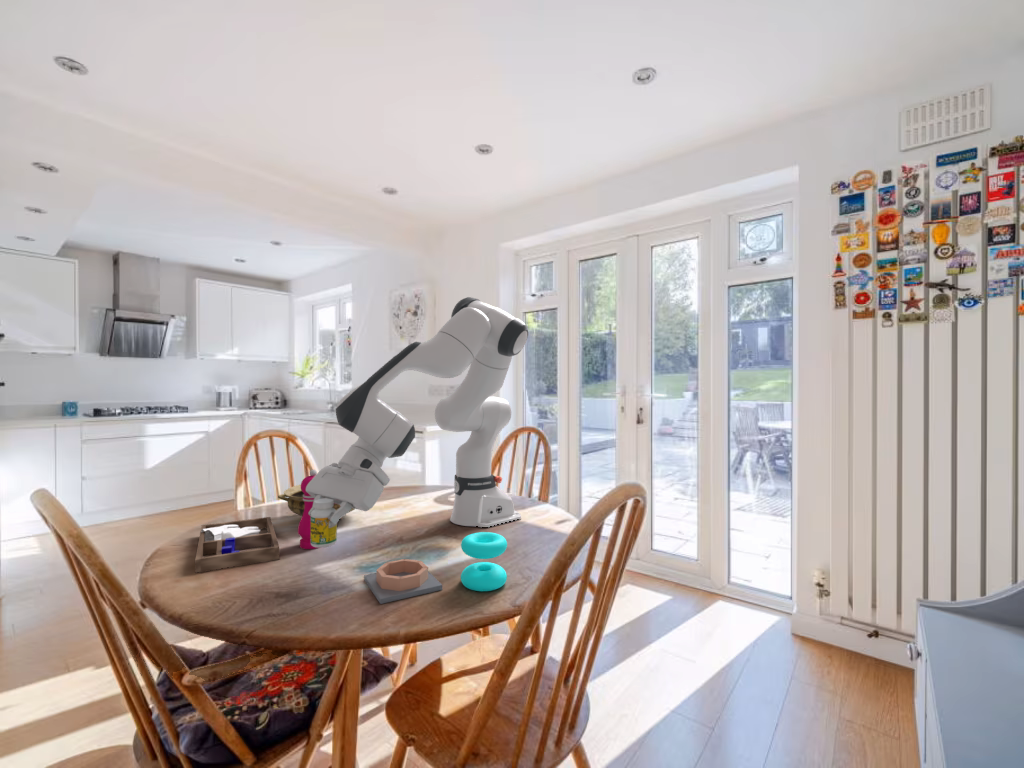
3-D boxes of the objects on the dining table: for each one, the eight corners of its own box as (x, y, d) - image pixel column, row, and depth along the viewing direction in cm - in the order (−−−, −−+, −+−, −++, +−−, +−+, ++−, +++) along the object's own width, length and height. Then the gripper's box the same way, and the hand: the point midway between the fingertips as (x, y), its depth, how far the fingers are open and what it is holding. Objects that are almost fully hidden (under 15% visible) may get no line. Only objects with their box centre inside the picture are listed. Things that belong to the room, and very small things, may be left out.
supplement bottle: (341, 541, 106) (342, 499, 106) (324, 549, 101) (324, 505, 101) (322, 538, 108) (323, 496, 108) (304, 545, 103) (305, 502, 103)
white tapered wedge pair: (230, 551, 121) (268, 539, 131) (230, 535, 121) (269, 524, 131) (200, 544, 126) (240, 533, 136) (200, 528, 126) (240, 518, 136)
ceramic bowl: (385, 510, 159) (385, 480, 159) (360, 533, 136) (360, 498, 135) (297, 508, 161) (297, 479, 160) (256, 531, 137) (256, 496, 137)
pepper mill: (316, 551, 121) (317, 472, 121) (291, 548, 123) (292, 471, 123) (332, 541, 128) (333, 467, 128) (308, 539, 130) (309, 466, 130)
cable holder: (238, 563, 113) (238, 546, 113) (221, 565, 112) (221, 548, 112) (241, 552, 121) (241, 536, 121) (225, 554, 119) (225, 538, 119)
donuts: (496, 548, 97) (452, 541, 100) (495, 597, 97) (452, 588, 100) (514, 533, 106) (473, 528, 110) (513, 578, 106) (473, 571, 110)
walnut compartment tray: (270, 526, 141) (270, 516, 141) (279, 559, 116) (279, 546, 116) (201, 536, 132) (201, 525, 132) (195, 573, 107) (195, 559, 107)
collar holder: (420, 568, 111) (421, 553, 111) (442, 589, 100) (442, 573, 100) (364, 579, 104) (364, 563, 104) (380, 604, 93) (380, 586, 93)
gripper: (322, 454, 116) (284, 503, 108) (380, 464, 105) (342, 519, 97) (338, 469, 120) (302, 518, 112) (395, 481, 109) (360, 535, 101)
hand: (321, 519), depth 104 cm, fingers closed on supplement bottle, 5 cm apart
